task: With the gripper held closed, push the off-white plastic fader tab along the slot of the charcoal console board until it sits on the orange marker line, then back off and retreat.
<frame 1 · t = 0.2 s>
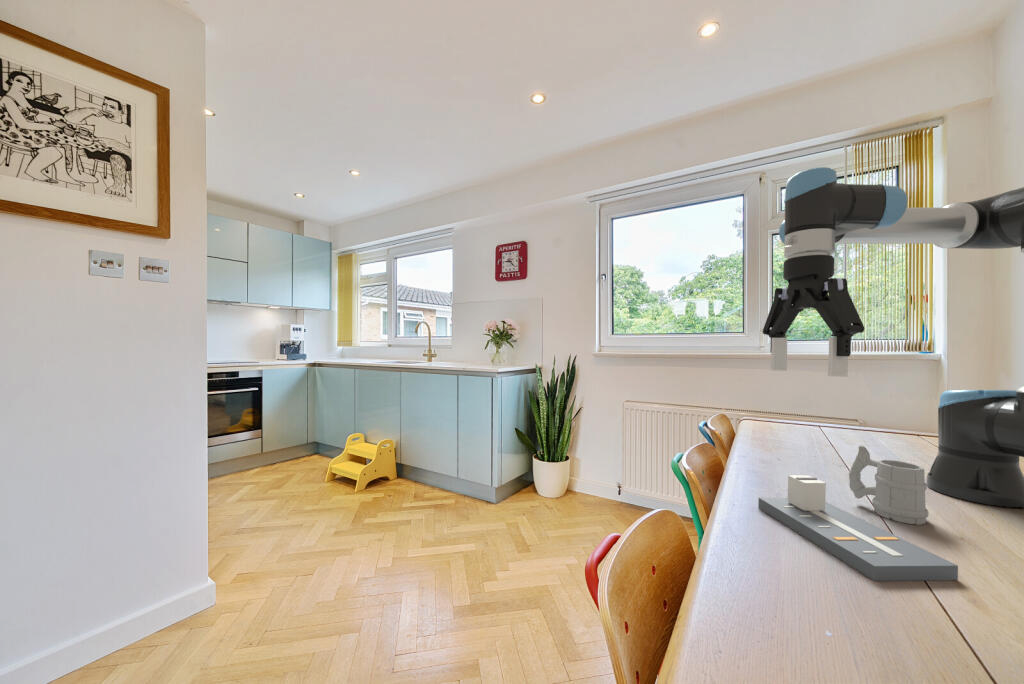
hand: (805, 373, 74), 27 cm above the table, fingers open, 13 cm apart
fader tab: (806, 492, 74), point 5 cm above the table, slide at 0.0 cm
console: (840, 537, 67), on the table
mug: (885, 513, 78), on the table
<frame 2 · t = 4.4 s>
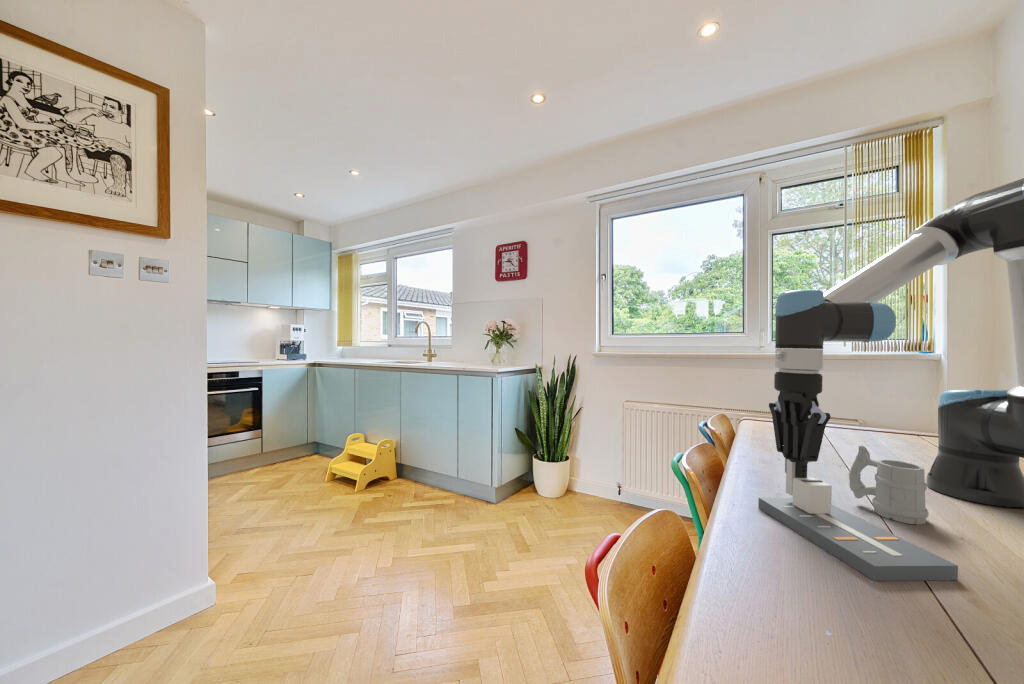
hand: (795, 493, 77), 3 cm above the table, fingers closed
fader tab: (811, 494, 73), point 5 cm above the table, slide at 1.3 cm, touching gripper
everything else where it was.
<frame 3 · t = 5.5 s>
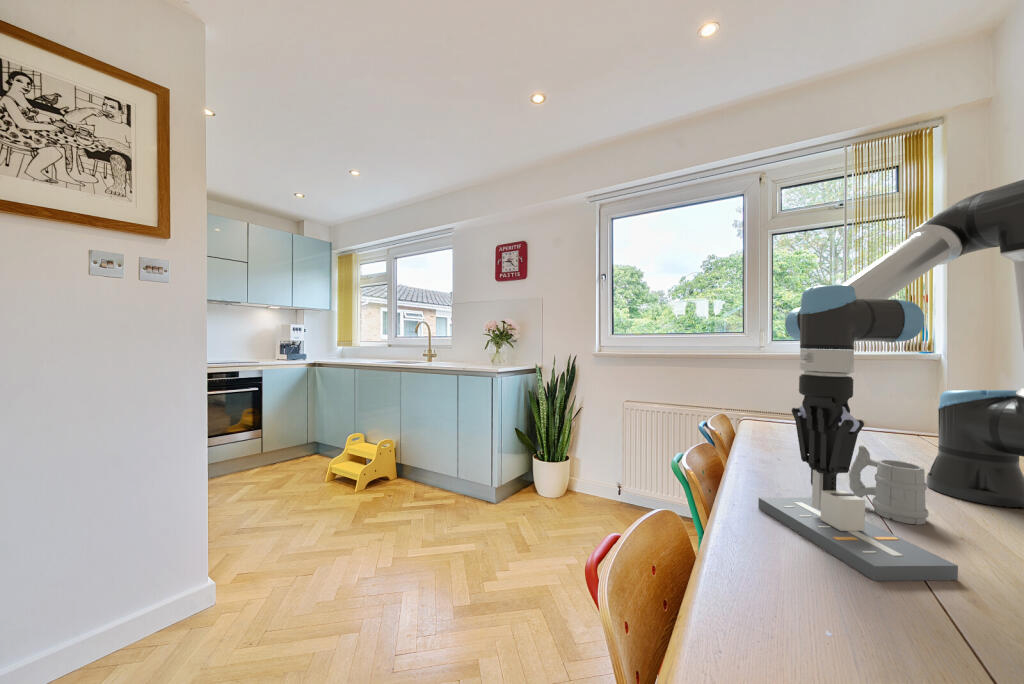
hand: (822, 507, 71), 3 cm above the table, fingers closed
fader tab: (842, 509, 67), point 5 cm above the table, slide at 7.7 cm, touching gripper
everything else where it was.
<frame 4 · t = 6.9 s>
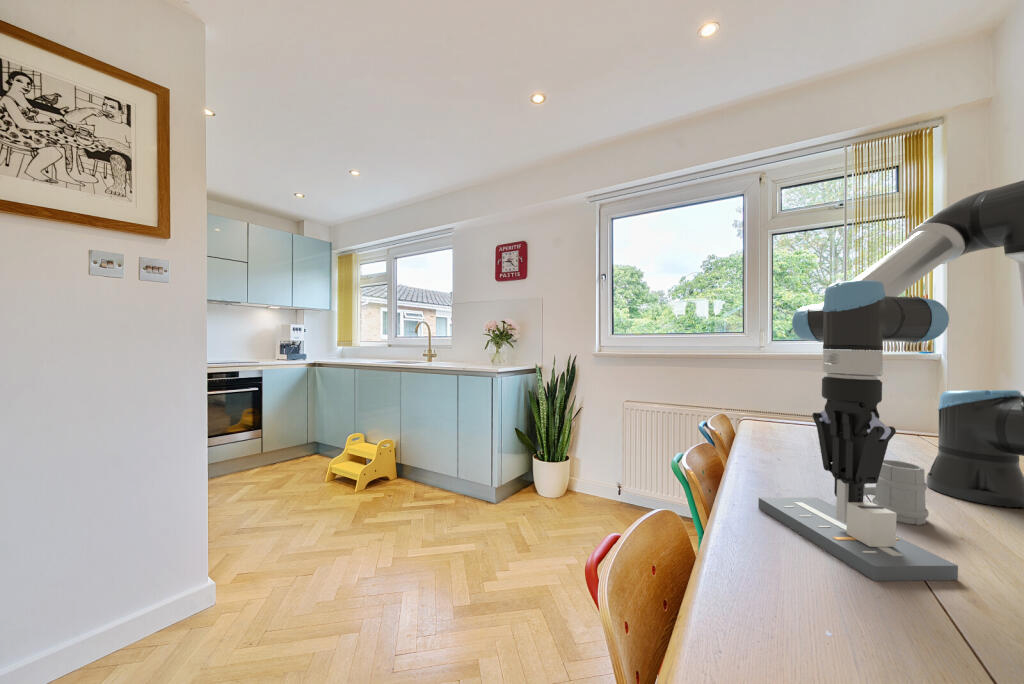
hand: (847, 520, 66), 3 cm above the table, fingers closed
fader tab: (870, 523, 62), point 5 cm above the table, slide at 12.8 cm, touching gripper
everything else where it was.
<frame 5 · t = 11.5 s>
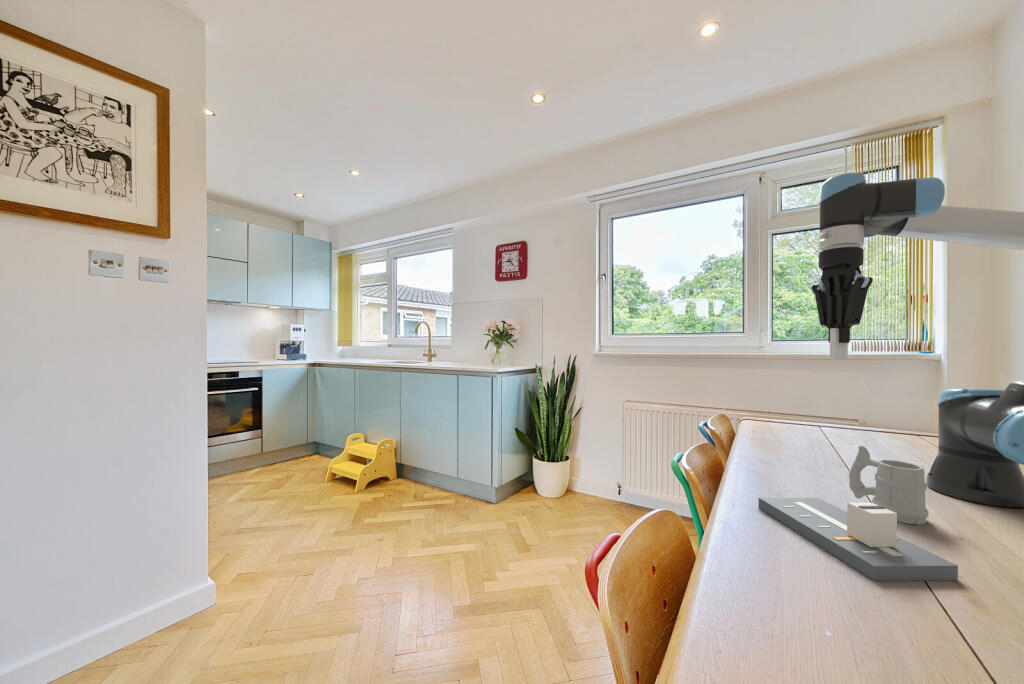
hand: (838, 358, 87), 29 cm above the table, fingers closed
fader tab: (871, 523, 62), point 5 cm above the table, slide at 12.8 cm
everything else where it was.
at the end: fader tab slide at 12.8 cm; fader tab touching nothing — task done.
